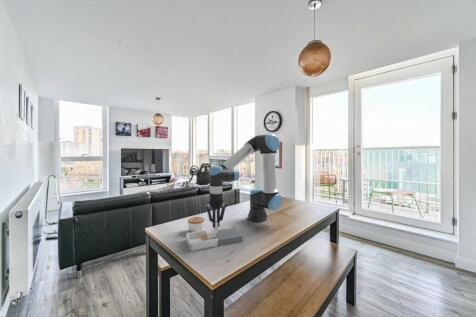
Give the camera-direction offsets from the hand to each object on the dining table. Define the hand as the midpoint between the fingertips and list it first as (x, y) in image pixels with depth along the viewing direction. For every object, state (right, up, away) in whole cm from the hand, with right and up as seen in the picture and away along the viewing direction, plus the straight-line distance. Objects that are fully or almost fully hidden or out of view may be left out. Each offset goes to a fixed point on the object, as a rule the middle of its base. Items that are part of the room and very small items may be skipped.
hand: (216, 232), depth 118 cm
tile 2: (-3, -2, -1) cm, 4 cm away
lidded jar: (-15, -4, +15) cm, 21 cm away
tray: (-8, -5, -3) cm, 10 cm away
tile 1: (-6, -1, -2) cm, 7 cm away
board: (+6, -5, +3) cm, 8 cm away
